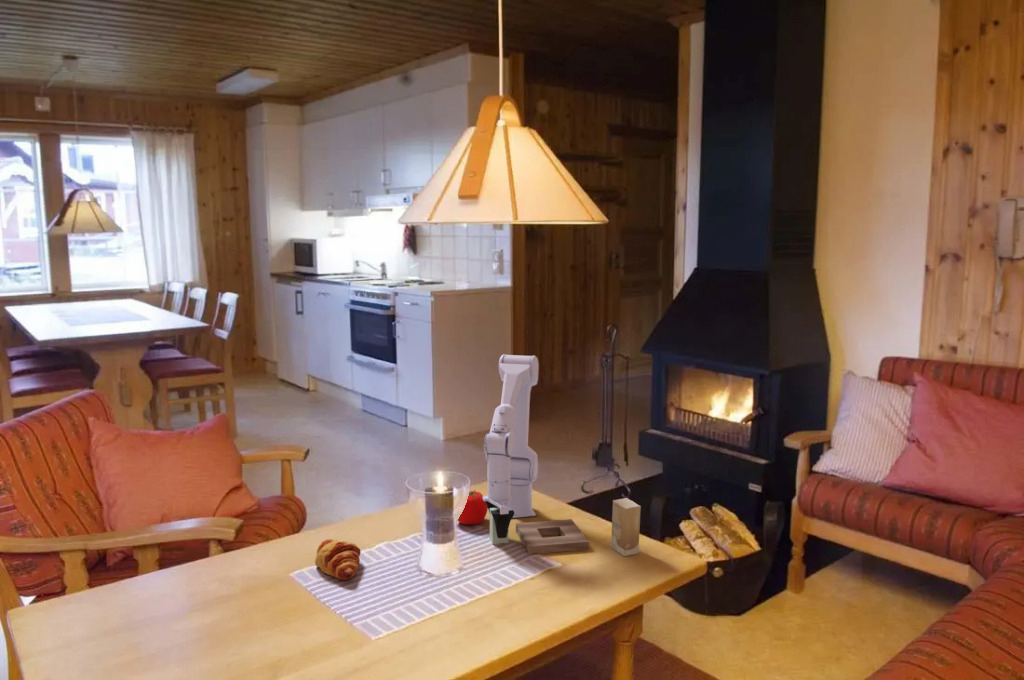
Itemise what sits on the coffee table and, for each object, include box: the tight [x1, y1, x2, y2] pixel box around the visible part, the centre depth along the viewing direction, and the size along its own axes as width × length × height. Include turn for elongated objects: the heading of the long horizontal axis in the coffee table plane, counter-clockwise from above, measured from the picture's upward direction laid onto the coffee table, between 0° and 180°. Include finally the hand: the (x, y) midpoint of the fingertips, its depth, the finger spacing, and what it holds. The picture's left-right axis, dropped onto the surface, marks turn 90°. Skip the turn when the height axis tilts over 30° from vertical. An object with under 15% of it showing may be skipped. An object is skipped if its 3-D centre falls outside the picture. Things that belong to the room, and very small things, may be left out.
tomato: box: [457, 490, 489, 526], centre depth 209 cm, size 9×10×8 cm
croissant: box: [314, 538, 361, 581], centre depth 182 cm, size 21×10×8 cm, turn 28°
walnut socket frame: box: [515, 518, 590, 555], centre depth 197 cm, size 15×15×2 cm
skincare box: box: [610, 497, 642, 557], centre depth 190 cm, size 6×4×12 cm
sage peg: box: [489, 508, 509, 545], centre depth 196 cm, size 4×4×8 cm
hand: (498, 531), depth 197 cm, fingers open, 7 cm apart
